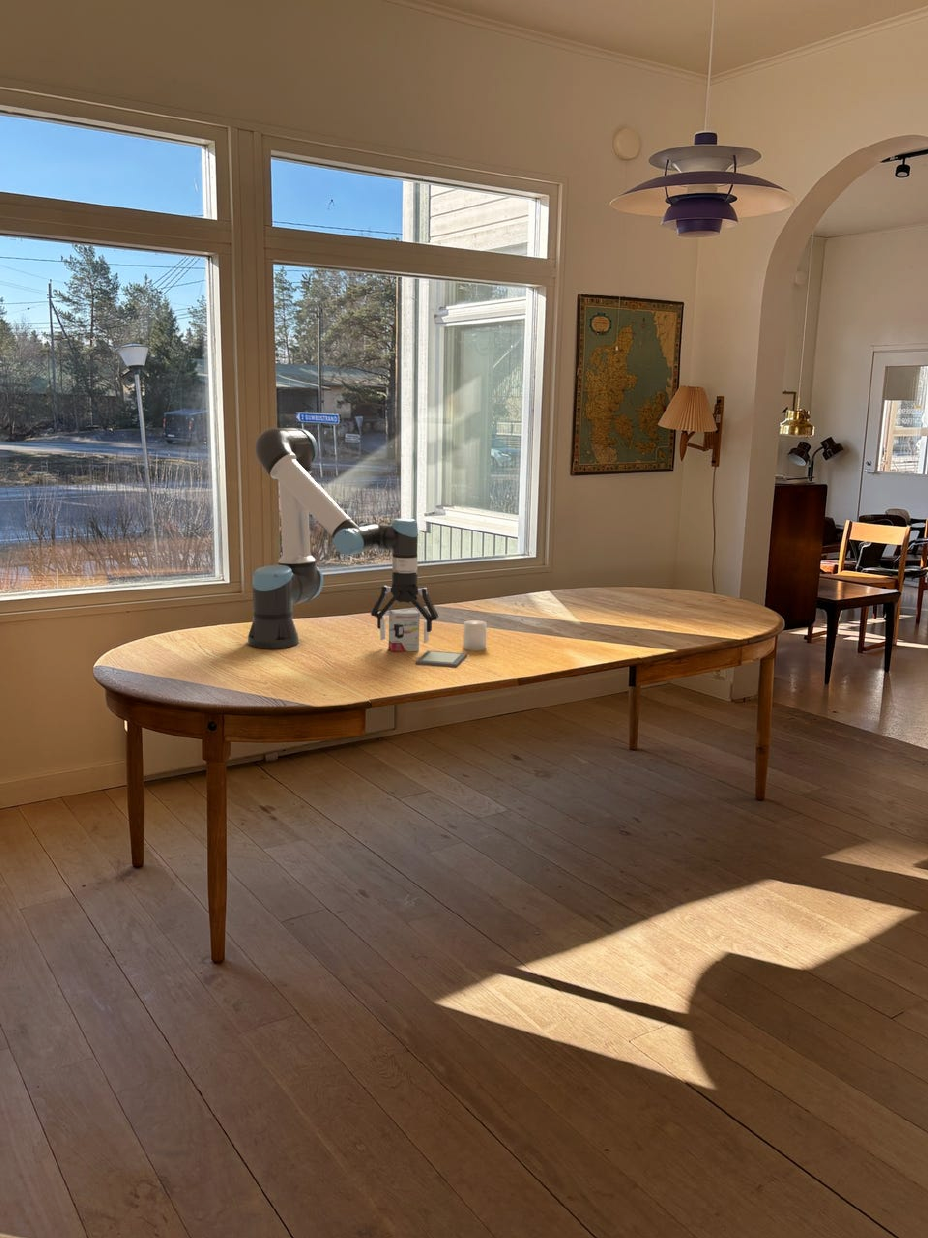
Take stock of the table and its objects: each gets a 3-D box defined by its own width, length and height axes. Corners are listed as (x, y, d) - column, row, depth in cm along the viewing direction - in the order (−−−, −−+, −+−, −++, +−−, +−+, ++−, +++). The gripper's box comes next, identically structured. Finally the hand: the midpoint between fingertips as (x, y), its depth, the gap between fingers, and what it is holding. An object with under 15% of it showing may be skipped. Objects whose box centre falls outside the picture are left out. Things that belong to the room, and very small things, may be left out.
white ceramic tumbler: (460, 649, 307) (461, 624, 305) (465, 644, 314) (466, 619, 312) (483, 651, 306) (484, 625, 304) (487, 646, 312) (488, 621, 311)
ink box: (391, 652, 302) (391, 613, 299) (388, 648, 306) (388, 610, 304) (419, 651, 304) (420, 612, 302) (415, 647, 308) (416, 609, 306)
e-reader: (415, 664, 288) (415, 660, 288) (427, 653, 301) (427, 650, 301) (456, 667, 286) (456, 664, 285) (467, 656, 299) (467, 653, 299)
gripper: (360, 570, 299) (361, 640, 303) (442, 575, 294) (441, 646, 298) (368, 567, 306) (368, 635, 311) (448, 571, 301) (447, 640, 305)
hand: (404, 640), depth 304 cm, fingers open, 13 cm apart
